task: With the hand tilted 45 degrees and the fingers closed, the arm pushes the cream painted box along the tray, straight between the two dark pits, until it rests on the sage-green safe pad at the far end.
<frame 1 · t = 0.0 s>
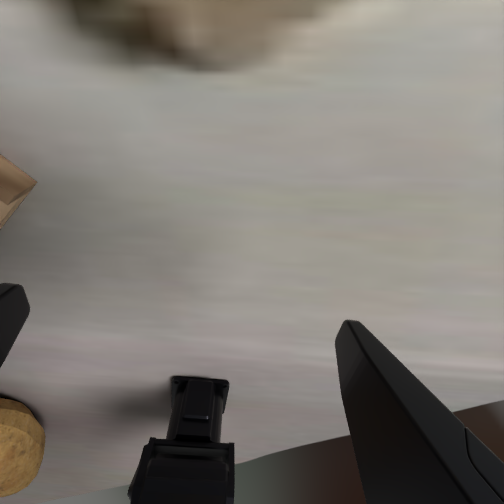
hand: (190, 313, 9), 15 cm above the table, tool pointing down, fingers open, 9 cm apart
potato: (12, 403, 38), on the table
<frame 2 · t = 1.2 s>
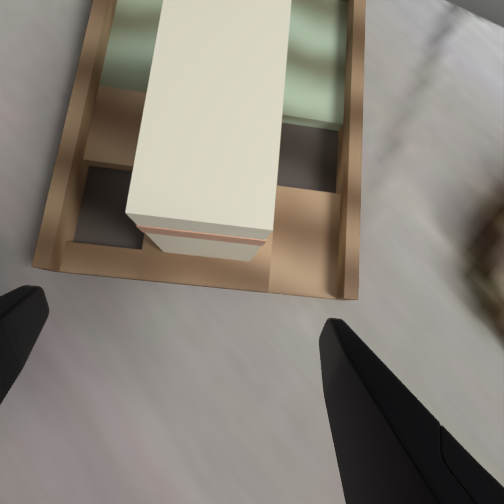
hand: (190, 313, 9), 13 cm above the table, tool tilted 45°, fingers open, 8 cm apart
cream block: (217, 177, 22), point 1 cm above the table, touching tray
tray: (224, 126, 24), on the table
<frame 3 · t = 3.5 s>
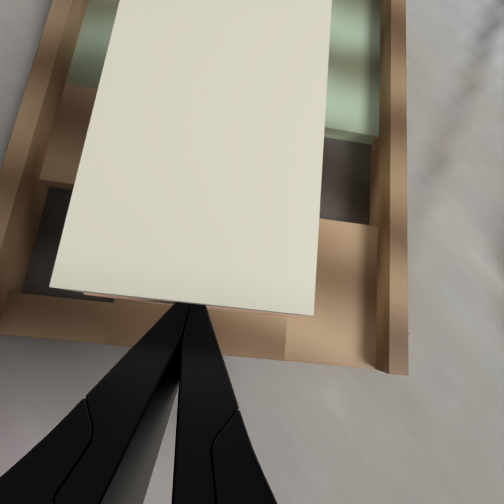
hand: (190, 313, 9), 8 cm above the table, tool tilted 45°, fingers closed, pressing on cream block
cream block: (217, 200, 17), point 1 cm above the table, touching gripper
tray: (227, 137, 19), on the table
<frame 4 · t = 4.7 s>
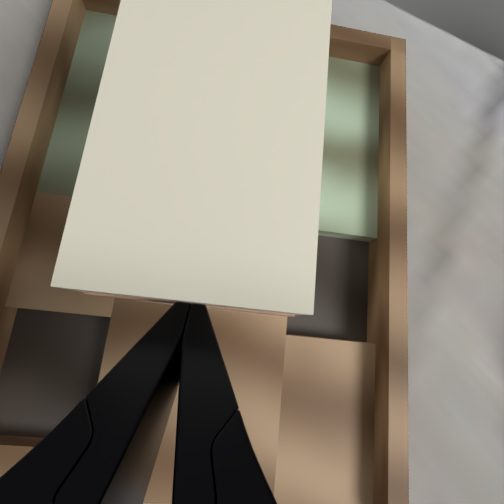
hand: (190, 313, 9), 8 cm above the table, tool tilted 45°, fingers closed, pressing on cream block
cream block: (217, 200, 17), point 1 cm above the table, touching gripper
tray: (213, 238, 18), on the table
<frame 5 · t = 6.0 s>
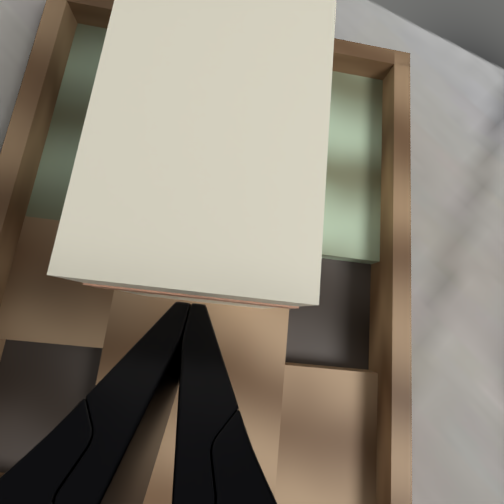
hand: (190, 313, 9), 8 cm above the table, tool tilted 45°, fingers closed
cream block: (219, 193, 17), point 1 cm above the table, touching tray
tray: (210, 261, 17), on the table
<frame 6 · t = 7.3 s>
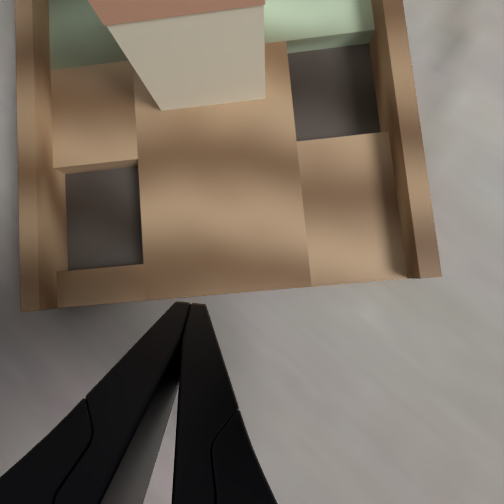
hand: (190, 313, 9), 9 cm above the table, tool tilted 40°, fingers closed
cream block: (205, 7, 18), point 1 cm above the table, touching tray
tray: (213, 80, 18), on the table
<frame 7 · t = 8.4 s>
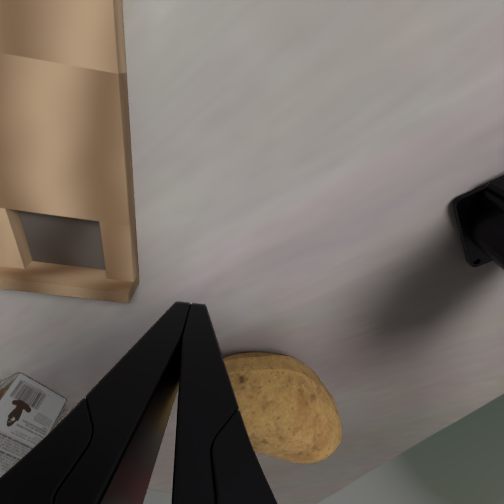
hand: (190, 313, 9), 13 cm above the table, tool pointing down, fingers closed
potato: (265, 361, 31), on the table
coffee box: (20, 395, 34), on the table
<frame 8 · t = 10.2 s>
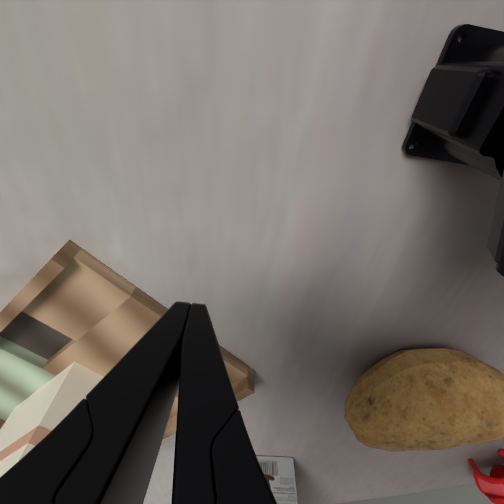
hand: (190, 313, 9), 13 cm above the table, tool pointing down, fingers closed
cream block: (69, 398, 32), point 1 cm above the table, touching tray
tray: (94, 374, 31), on the table
potato: (400, 358, 31), on the table
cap: (488, 455, 43), on the table
coffee box: (266, 467, 45), on the table
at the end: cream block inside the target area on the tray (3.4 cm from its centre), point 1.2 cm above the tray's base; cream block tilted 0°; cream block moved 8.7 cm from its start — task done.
